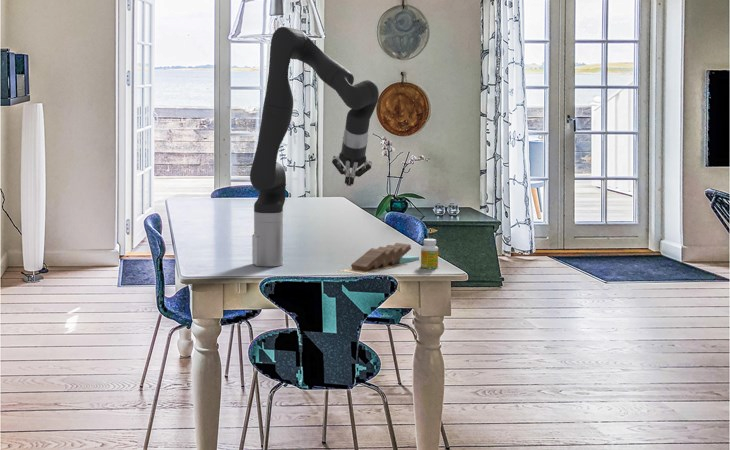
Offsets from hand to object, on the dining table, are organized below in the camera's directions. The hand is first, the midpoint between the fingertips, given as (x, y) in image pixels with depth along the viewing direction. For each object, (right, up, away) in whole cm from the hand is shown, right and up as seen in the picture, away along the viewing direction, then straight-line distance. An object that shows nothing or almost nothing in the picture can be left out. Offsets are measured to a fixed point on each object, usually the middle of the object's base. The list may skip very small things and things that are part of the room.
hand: (348, 184), depth 271 cm
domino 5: (+14, -24, +5) cm, 29 cm away
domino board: (+8, -27, -2) cm, 28 cm away
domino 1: (+3, -26, -9) cm, 28 cm away
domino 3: (+9, -25, -2) cm, 27 cm away
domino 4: (+12, -25, +2) cm, 28 cm away
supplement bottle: (+26, -27, -1) cm, 38 cm away
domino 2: (+6, -26, -5) cm, 27 cm away
